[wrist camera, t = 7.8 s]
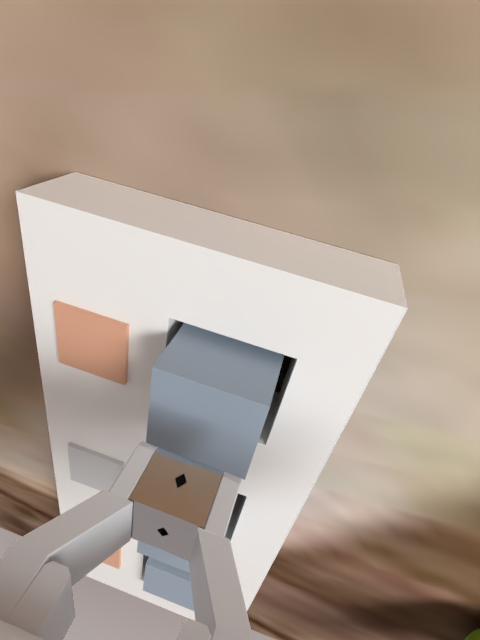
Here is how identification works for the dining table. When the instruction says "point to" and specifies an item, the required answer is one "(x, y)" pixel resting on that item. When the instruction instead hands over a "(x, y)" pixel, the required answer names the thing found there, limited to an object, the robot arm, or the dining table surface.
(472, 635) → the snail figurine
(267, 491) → the button panel
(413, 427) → the dining table surface
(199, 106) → the dining table surface
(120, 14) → the dining table surface
